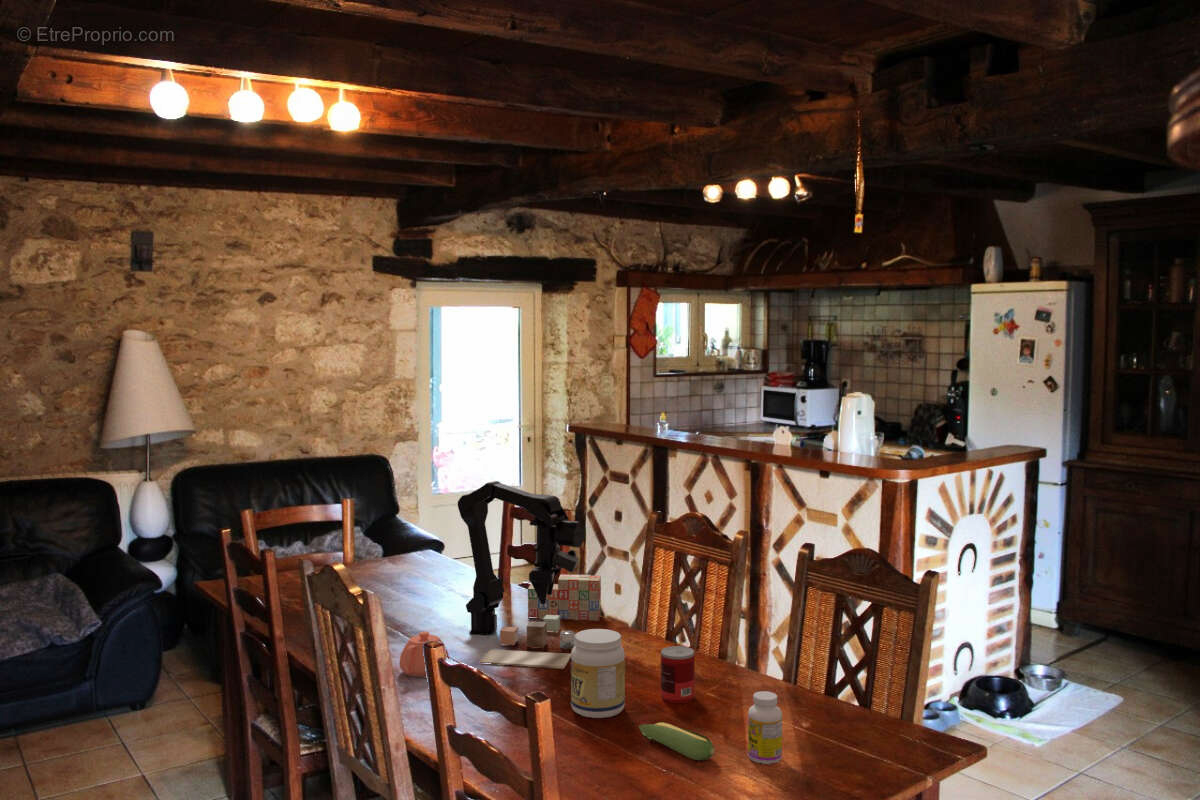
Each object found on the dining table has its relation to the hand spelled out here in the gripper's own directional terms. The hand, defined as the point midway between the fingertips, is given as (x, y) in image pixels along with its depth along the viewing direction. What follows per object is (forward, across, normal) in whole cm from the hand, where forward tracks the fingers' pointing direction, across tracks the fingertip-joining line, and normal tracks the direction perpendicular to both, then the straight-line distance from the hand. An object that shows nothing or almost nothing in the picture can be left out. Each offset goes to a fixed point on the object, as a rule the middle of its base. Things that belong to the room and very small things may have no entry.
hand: (546, 599), depth 267 cm
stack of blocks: (+13, +26, -1) cm, 28 cm away
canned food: (+12, -36, -38) cm, 53 cm away
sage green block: (+12, +12, 0) cm, 17 cm away
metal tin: (+12, -3, -6) cm, 14 cm away
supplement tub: (+12, -45, -20) cm, 51 cm away
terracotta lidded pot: (+13, -28, +26) cm, 40 cm away
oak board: (+12, -14, +2) cm, 19 cm away
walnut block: (+12, -2, +2) cm, 13 cm away
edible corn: (+12, -64, -39) cm, 76 cm away
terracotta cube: (+12, -1, +10) cm, 16 cm away
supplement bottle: (+11, -66, -57) cm, 88 cm away
